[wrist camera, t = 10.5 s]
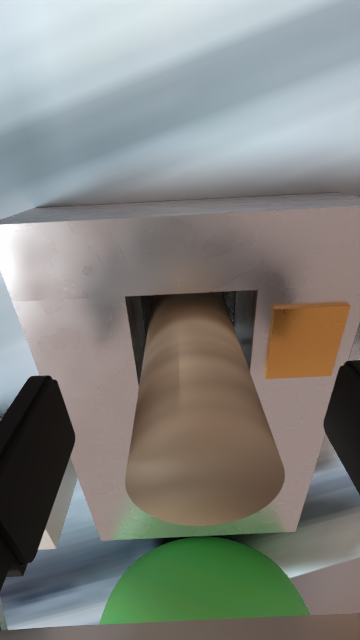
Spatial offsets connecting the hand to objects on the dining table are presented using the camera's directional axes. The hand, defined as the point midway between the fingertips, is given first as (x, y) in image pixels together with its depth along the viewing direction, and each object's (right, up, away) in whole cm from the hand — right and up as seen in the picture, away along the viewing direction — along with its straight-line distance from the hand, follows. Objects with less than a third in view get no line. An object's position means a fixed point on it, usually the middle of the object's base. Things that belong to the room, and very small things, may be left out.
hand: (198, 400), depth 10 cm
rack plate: (0, -1, +9) cm, 9 cm away
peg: (0, +3, +6) cm, 7 cm away
